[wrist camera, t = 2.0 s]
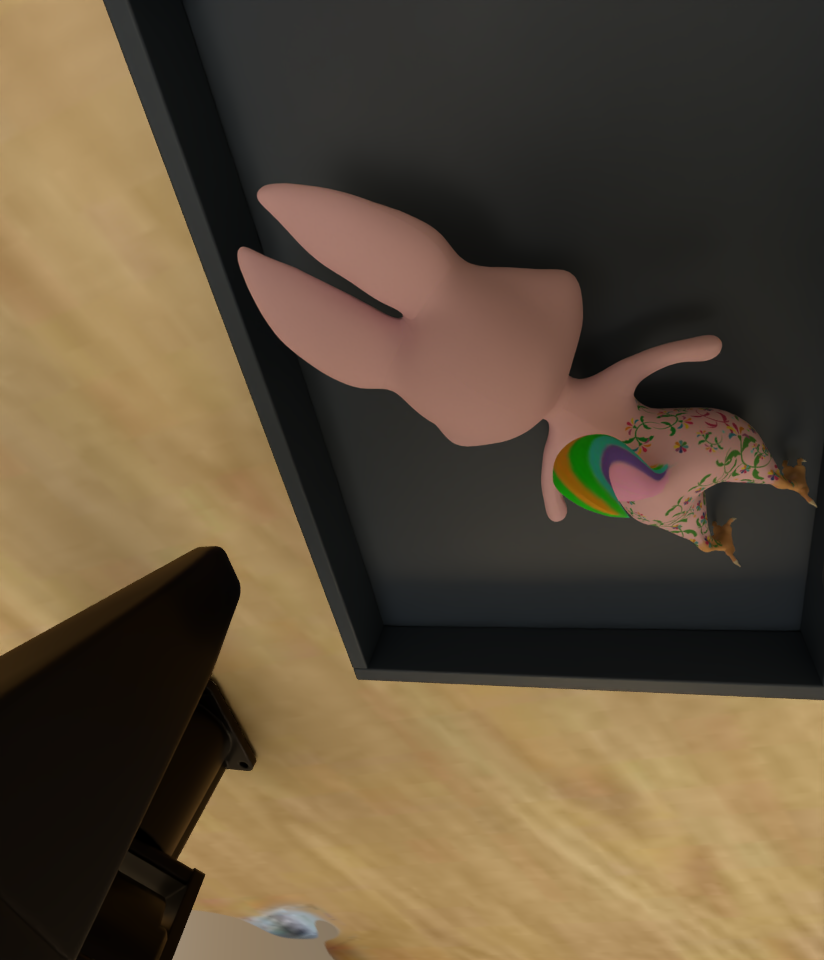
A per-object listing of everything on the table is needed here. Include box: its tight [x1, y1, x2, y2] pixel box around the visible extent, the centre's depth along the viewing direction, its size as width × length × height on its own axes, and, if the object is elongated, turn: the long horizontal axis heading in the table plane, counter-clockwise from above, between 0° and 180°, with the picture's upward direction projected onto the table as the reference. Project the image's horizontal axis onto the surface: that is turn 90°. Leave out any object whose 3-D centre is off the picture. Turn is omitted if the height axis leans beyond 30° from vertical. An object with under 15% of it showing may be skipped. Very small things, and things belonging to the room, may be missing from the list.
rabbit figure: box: [237, 183, 817, 567], centre depth 14 cm, size 6×6×15 cm
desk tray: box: [103, 0, 824, 700], centre depth 15 cm, size 21×15×3 cm
